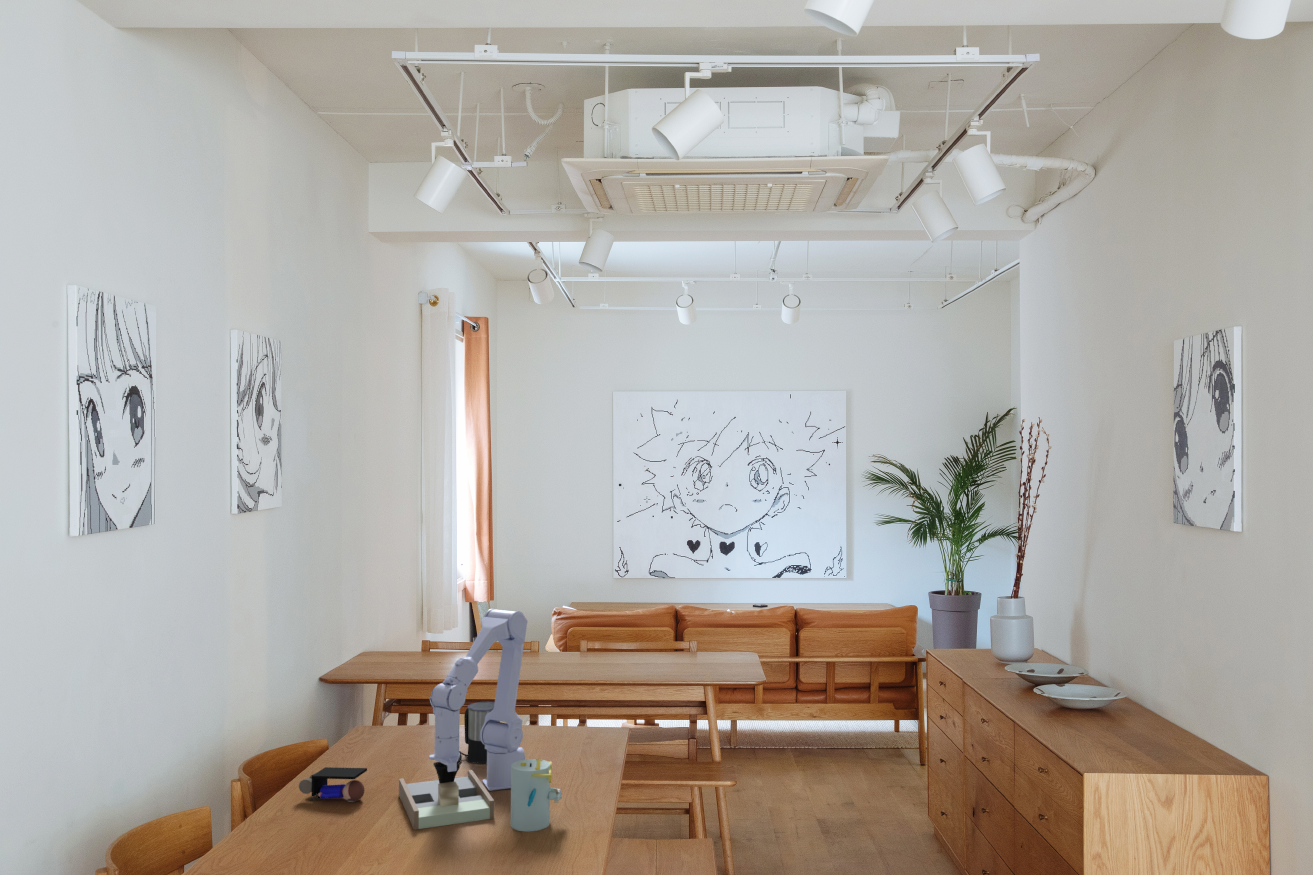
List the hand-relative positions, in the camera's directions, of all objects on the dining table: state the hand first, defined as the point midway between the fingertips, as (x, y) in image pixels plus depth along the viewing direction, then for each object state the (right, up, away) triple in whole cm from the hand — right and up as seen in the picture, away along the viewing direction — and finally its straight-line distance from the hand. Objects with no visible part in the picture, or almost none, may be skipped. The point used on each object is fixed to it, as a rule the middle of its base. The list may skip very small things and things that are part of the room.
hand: (446, 793), depth 218 cm
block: (+1, -1, -3) cm, 4 cm away
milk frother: (-2, -5, +36) cm, 37 cm away
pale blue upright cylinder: (+23, -3, -9) cm, 25 cm away
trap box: (-1, -4, +1) cm, 4 cm away
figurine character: (-29, -4, +6) cm, 29 cm away
